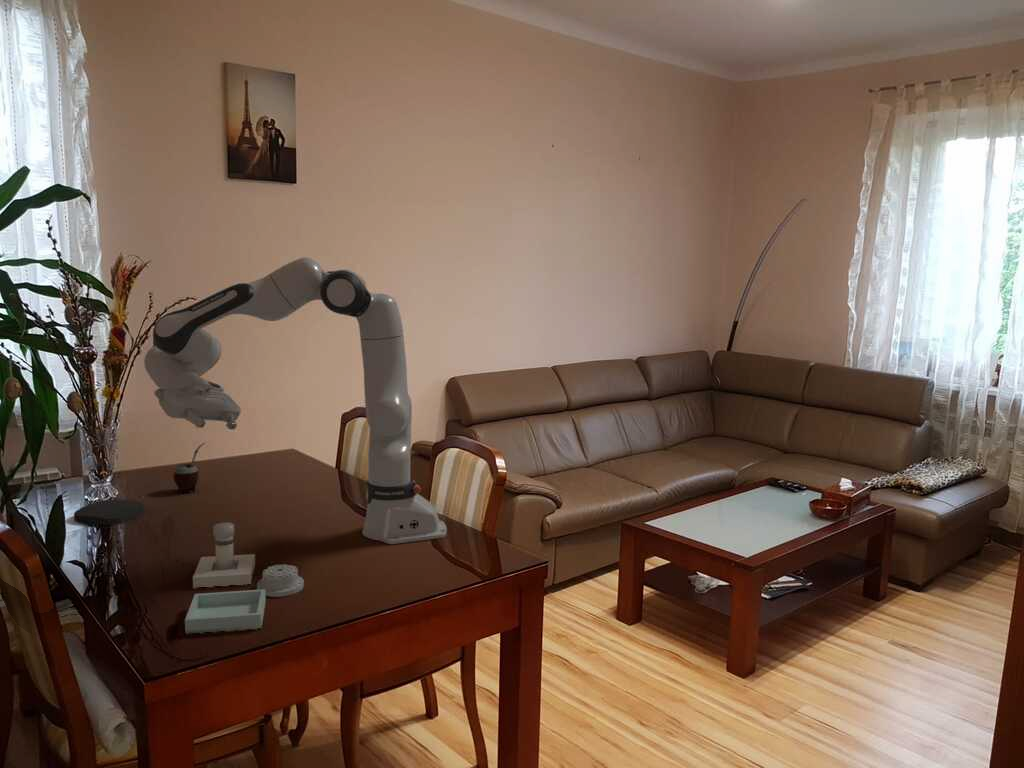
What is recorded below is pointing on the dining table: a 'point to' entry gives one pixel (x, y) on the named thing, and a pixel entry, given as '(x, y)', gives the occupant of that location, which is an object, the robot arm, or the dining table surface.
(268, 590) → the mechanical component
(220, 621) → the parts tray
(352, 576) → the dining table surface
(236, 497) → the dining table surface
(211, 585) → the grey square frame
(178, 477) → the mate gourd
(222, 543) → the grey peg
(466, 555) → the dining table surface
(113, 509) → the media streaming box
